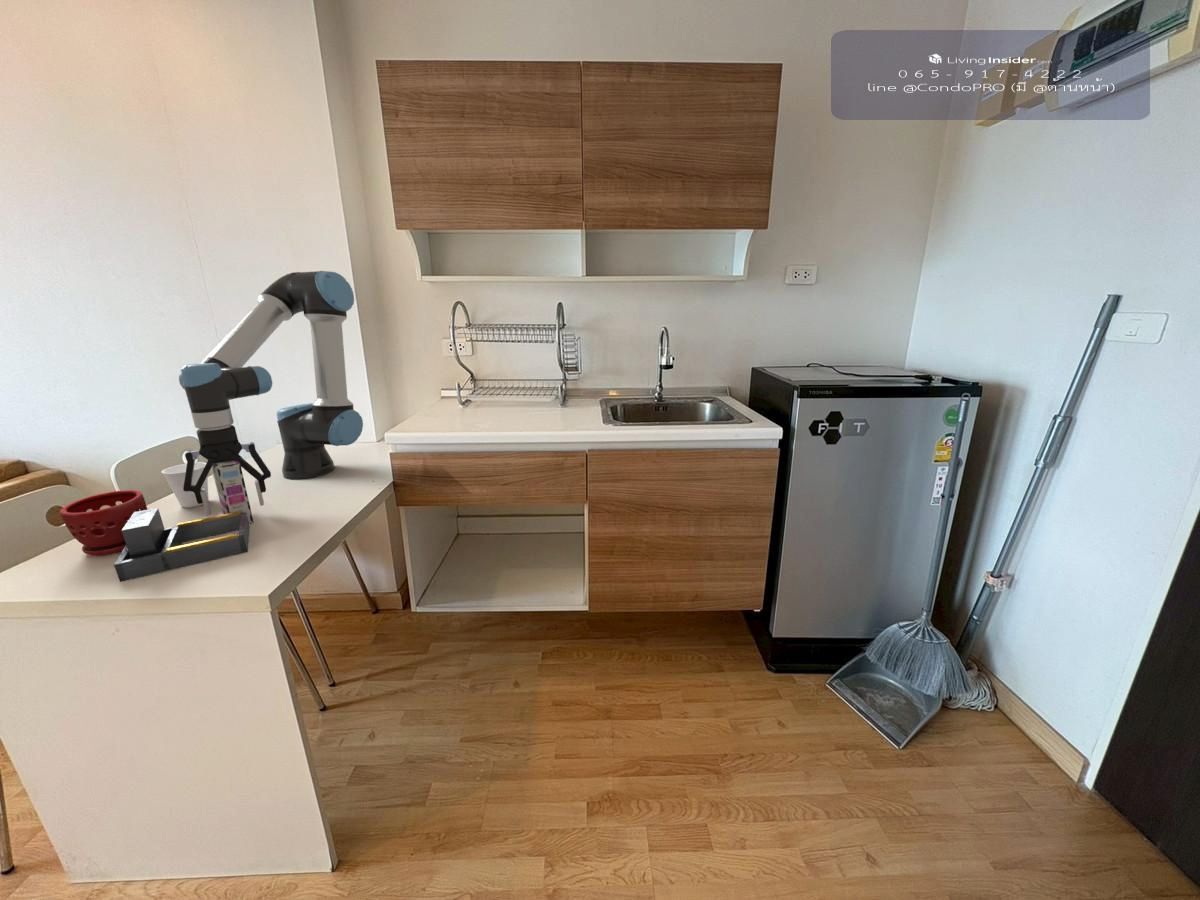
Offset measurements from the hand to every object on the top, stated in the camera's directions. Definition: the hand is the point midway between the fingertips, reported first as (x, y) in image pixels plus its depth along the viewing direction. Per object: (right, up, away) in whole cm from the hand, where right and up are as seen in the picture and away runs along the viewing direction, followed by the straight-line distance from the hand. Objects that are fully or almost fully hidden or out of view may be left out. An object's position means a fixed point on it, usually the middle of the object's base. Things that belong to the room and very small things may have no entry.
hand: (236, 508), depth 121 cm
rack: (+2, -8, -15) cm, 17 cm away
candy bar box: (0, -3, +1) cm, 3 cm away
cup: (-21, 0, +12) cm, 24 cm away
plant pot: (-17, -8, -13) cm, 23 cm away
